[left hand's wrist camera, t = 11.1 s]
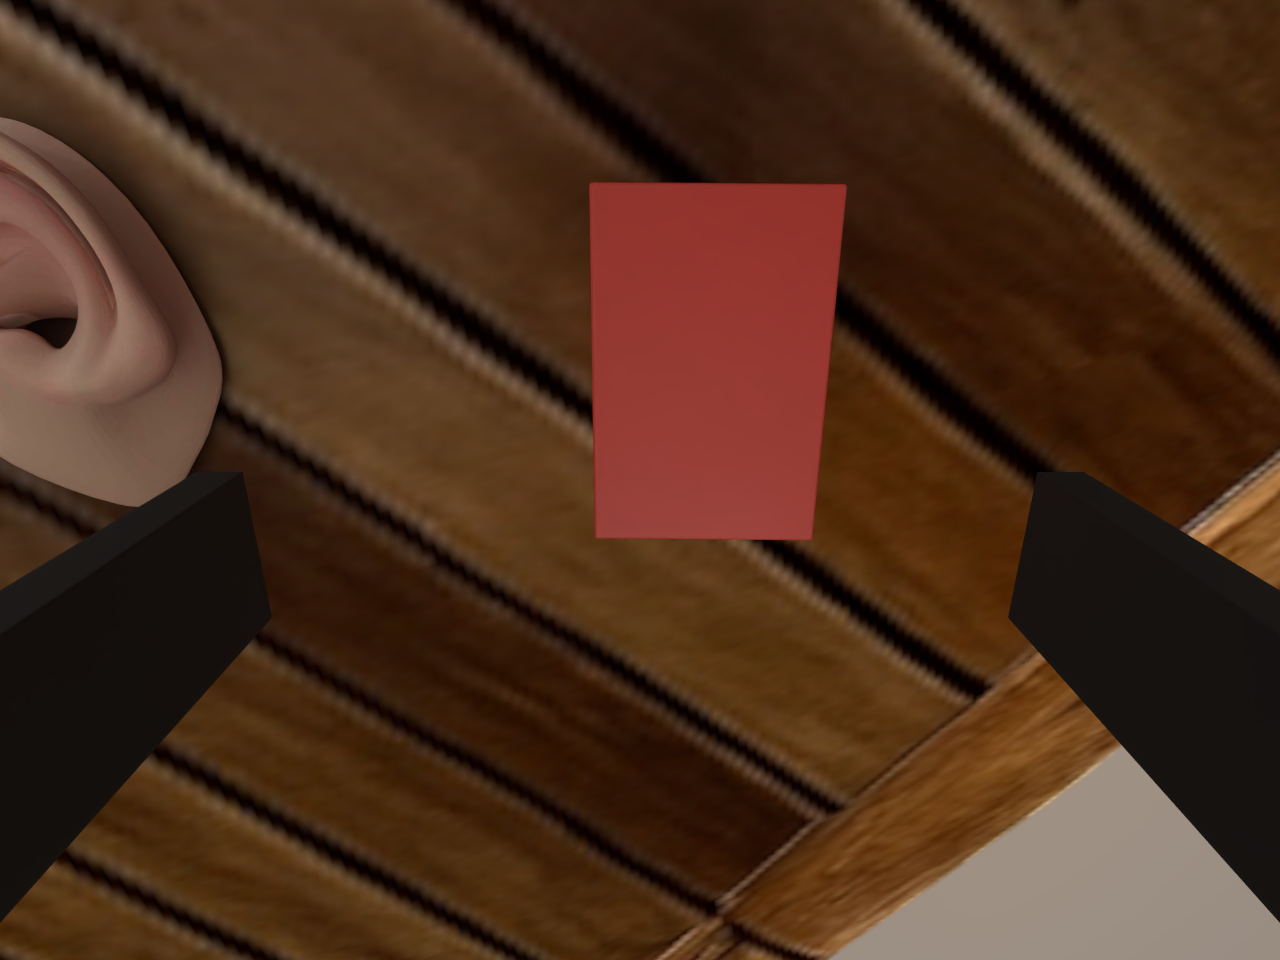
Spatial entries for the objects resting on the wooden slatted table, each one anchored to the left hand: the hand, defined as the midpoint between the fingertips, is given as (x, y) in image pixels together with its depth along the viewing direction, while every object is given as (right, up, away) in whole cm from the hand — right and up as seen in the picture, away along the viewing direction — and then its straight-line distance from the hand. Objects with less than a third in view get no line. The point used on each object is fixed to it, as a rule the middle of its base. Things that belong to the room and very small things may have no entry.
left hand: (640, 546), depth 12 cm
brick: (+2, +7, +13) cm, 15 cm away
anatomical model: (-21, +7, +14) cm, 26 cm away
